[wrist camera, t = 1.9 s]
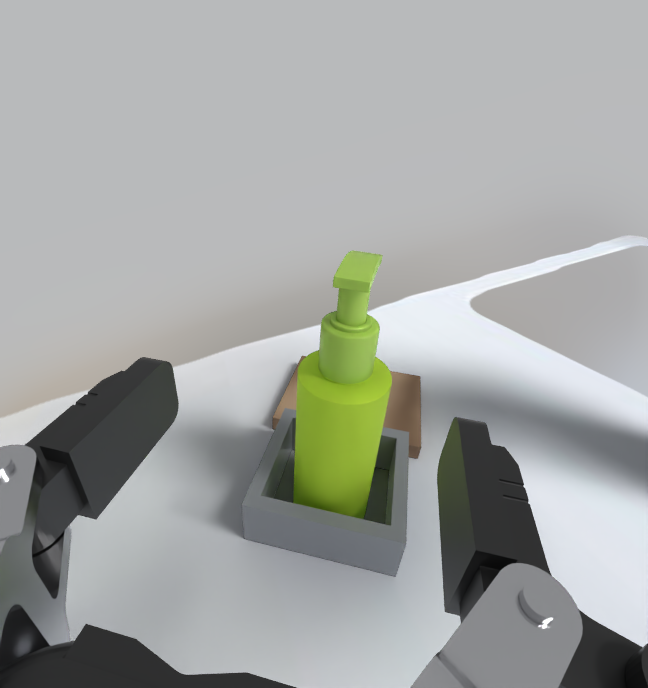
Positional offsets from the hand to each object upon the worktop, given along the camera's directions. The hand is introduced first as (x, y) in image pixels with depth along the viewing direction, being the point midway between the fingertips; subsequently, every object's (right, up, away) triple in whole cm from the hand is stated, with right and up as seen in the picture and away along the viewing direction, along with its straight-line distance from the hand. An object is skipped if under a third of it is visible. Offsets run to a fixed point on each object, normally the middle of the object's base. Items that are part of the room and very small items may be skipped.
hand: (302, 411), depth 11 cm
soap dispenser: (+1, -11, +20) cm, 23 cm away
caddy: (+1, -11, +20) cm, 23 cm away
